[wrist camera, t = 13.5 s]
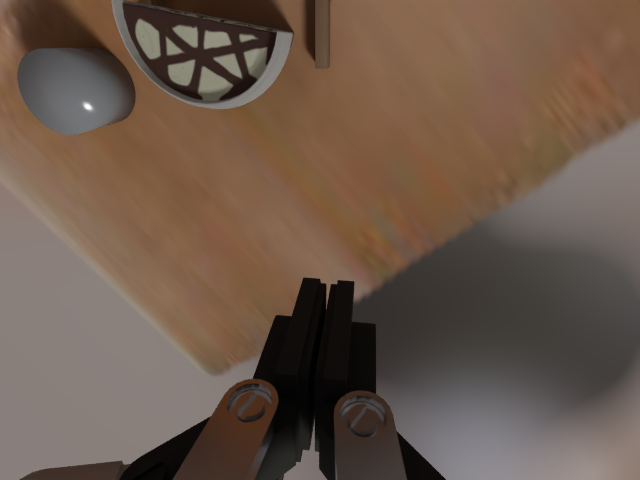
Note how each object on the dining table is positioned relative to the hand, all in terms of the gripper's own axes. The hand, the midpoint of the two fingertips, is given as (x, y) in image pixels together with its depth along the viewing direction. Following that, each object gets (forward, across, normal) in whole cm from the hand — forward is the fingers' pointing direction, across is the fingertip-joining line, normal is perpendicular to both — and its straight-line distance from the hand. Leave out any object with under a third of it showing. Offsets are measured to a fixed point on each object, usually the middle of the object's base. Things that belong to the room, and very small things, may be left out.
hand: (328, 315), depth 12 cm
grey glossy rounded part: (+27, +26, -4) cm, 38 cm away
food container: (+27, +11, -6) cm, 30 cm away
